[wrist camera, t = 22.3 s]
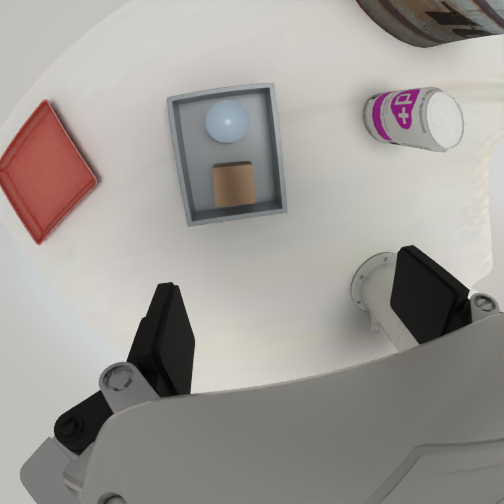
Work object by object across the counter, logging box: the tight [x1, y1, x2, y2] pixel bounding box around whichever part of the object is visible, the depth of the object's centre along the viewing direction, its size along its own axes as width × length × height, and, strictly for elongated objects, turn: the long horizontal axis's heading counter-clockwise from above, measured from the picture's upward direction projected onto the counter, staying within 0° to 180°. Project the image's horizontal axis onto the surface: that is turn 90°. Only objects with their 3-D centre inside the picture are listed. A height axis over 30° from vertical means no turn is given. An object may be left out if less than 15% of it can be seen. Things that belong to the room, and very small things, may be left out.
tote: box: [167, 83, 287, 227], centre depth 34 cm, size 17×13×5 cm
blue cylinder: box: [205, 100, 250, 143], centre depth 31 cm, size 5×5×7 cm
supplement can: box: [365, 87, 465, 152], centre depth 29 cm, size 8×8×15 cm
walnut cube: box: [212, 161, 255, 207], centre depth 35 cm, size 5×5×5 cm
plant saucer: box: [0, 99, 98, 245], centre depth 33 cm, size 18×18×3 cm
